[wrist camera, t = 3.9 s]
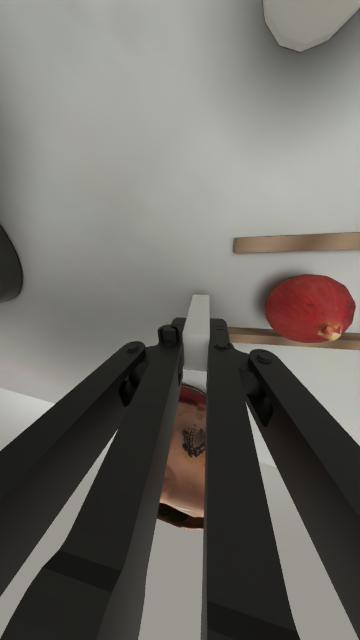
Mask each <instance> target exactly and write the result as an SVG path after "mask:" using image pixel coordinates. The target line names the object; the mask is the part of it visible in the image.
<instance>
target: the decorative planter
mask: <svg viewBox="0 0 360 640" xmlns="http://www.w3.org/2000/svg"><path fill="white" fill-rule="evenodd" d="M205 440H206V395H205V394H203V393H202V392H200V391H198V390H196V389H194V388H191V387H187V386H184V385H181V389H180V394H179V400H178V405H177V411H176V416H175V422H174V427H173V432H172V438H171V443H170V449H169V454H168V459H167V465H166V470H165V476H164V481H163V486H162V492H161V497H160V503H159V508H158V514H157V519H160V520H162V521H165V522H167V523H170V524H172V525H174V526H177V527H180V528H184V529H191V530H204V487H205Z"/></svg>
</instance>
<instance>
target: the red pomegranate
mask: <svg viewBox="0 0 360 640" xmlns="http://www.w3.org/2000/svg"><path fill="white" fill-rule="evenodd" d="M355 307H356V306H355V302H354V300H353V298H352V297H351V295H350V293H349V291H348V289H347V288H346V286H344V285H342V284H341V283H339V282H337V281H336V280H334V279H332V278H330V277H327V276H321V275H312V274H304V275H300V276H295V277H291V278H289V279H288V280H286V281H284V282H282V283H281V284H279V285H278V286H277V287H276V288H275V289H274V290H273V291H272V292H271V293H270V294H269V297H268V299H267V302H266V304H265V315H266V317H267V320H268V322H269V324H270V325H271V327H272V328H273V329H274V330H275V331H276V332H277V333H279V334H280V335H282V336H283V337H285V338H287V339H289V340H292V341H297V342H302V343H321V342H325V341H329V340H330V341H334V340H336V339H338V338H339V337H340V336H341V335H342V334H344V332H345V331H346V330H347V329H348V327H349V326H350V325H351V324H352V321H353V316H354V312H355Z"/></svg>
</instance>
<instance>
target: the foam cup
mask: <svg viewBox="0 0 360 640" xmlns="http://www.w3.org/2000/svg"><path fill="white" fill-rule="evenodd" d="M359 7H360V0H263V8H264V17H265V23H266V24H267V26H268V28H269V29H270V31H271V33H272V34H273V36H274V38H275V39H276V41H277V43H278V44H279V45H280V46H283V47H286V48H289V49H293V50H296V51H299V52H302V51H304V50H306V49H309V48H311V47H314V46H316V45H318V44H321V43H323V42H326V41H328V40H329V39H330V38H331V37H332V36H333V35H334V34H335V33H336V32H337V31H338V30H339V29H340V28H341V27H342V26H343V25H344V24H345V23H346V22H347V21H348V20H349V19H350V18H351V17H352V16H353V15H354V14H355V13H356V12H357V10H358V9H359Z"/></svg>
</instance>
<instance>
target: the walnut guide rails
mask: <svg viewBox="0 0 360 640" xmlns="http://www.w3.org/2000/svg"><path fill="white" fill-rule="evenodd" d="M344 249H360V232H352V233H331V234H309V235H287V236H265V237H243V238H234V246H233V252H235V253H245V252H278V251H311V250H344ZM227 329H228V334H229V339H230V342H236V343H252V344H269V345H285V346H301V347H317V348H333V349H349V350H360V334H356V333H344V334H342V335H341V336H340V337H339V338H338V339H336V340H334V341H330V340H329V341H325V342H321V343H302V342H297V341H292V340H289V339H287V338H285V337H283V336H282V335H280V334H279V333H277V332H276V331H275V330H271V329H250V328H229V327H227Z"/></svg>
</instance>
